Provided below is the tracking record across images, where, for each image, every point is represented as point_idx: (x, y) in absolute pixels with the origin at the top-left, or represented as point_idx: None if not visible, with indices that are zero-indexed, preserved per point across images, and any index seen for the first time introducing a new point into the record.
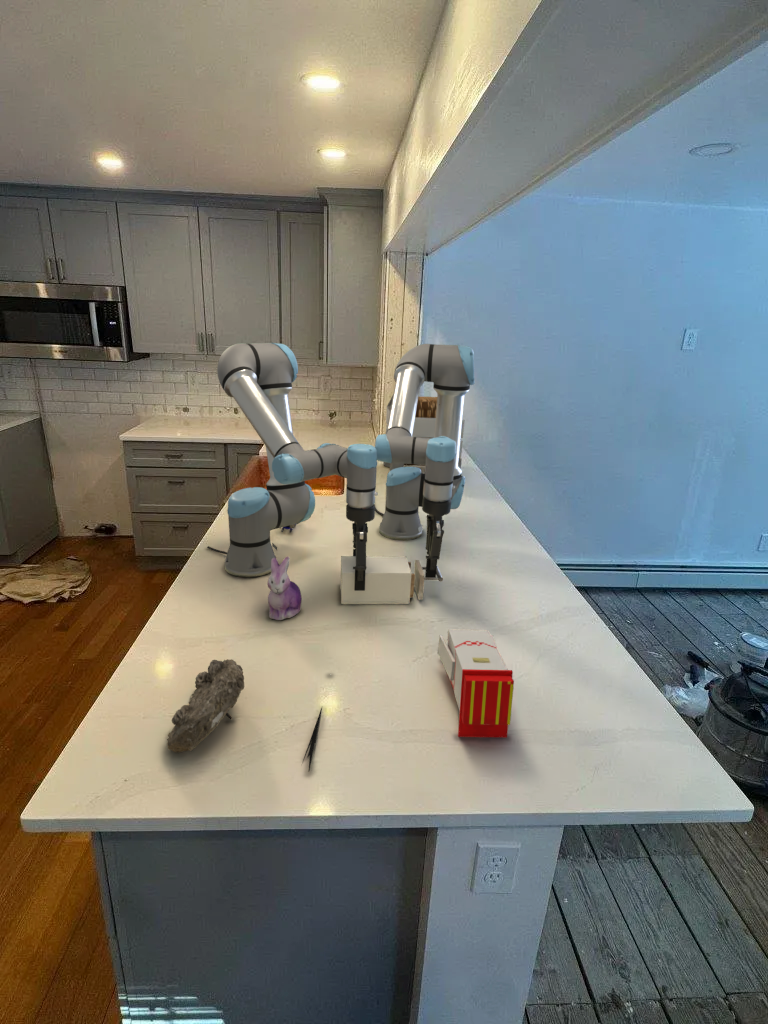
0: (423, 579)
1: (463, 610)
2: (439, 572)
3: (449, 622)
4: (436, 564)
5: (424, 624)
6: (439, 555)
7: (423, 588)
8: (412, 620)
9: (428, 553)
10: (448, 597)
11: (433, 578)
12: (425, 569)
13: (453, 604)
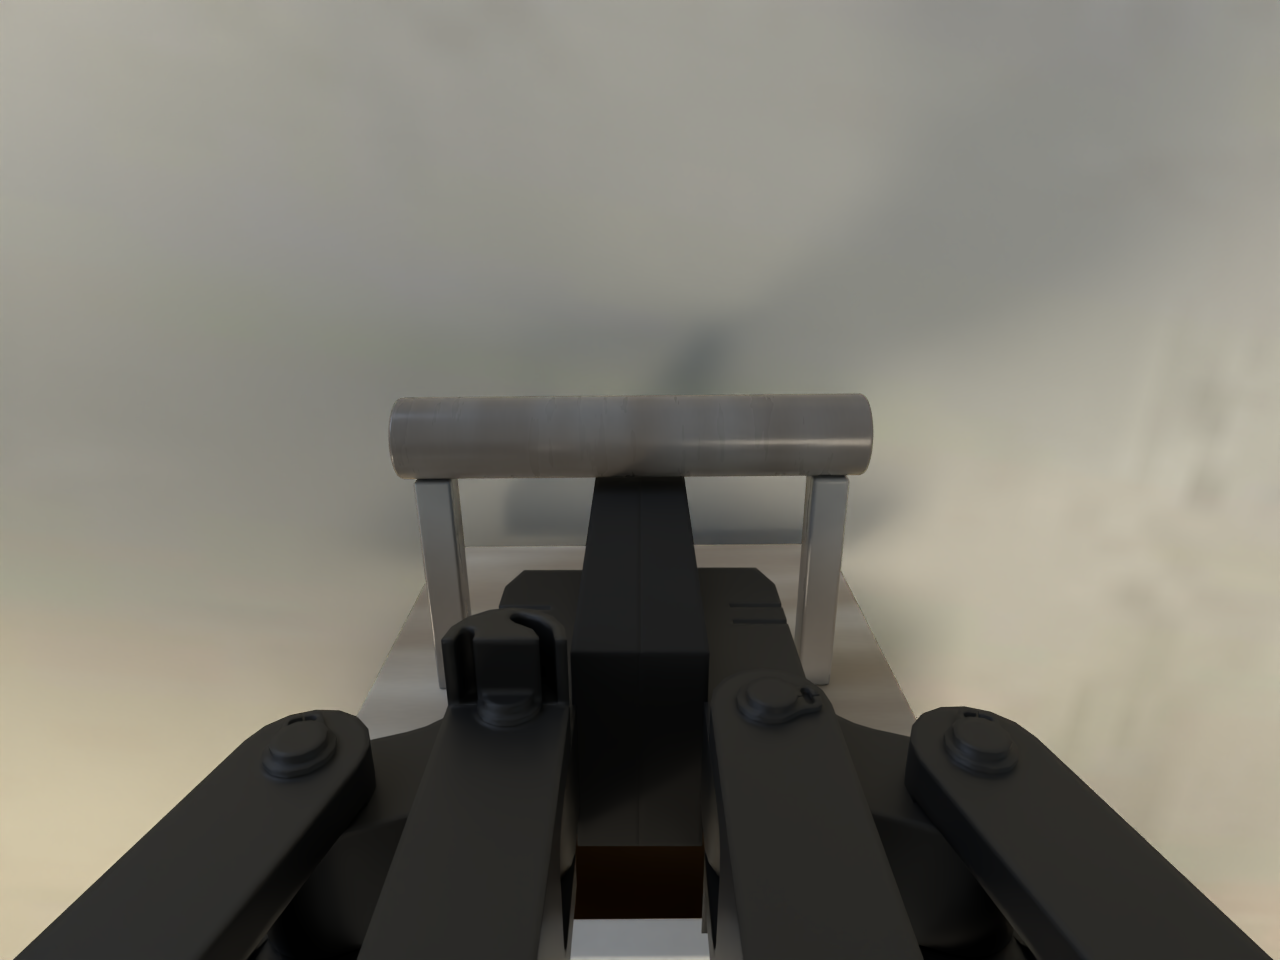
0: (902, 705)
1: (1058, 83)
2: (677, 438)
3: (1271, 318)
4: (698, 577)
5: (1230, 566)
6: (1131, 834)
7: (864, 617)
8: (1131, 654)
9: (573, 870)
10: (715, 215)
11: (841, 549)
12: (468, 595)
13: (894, 186)
